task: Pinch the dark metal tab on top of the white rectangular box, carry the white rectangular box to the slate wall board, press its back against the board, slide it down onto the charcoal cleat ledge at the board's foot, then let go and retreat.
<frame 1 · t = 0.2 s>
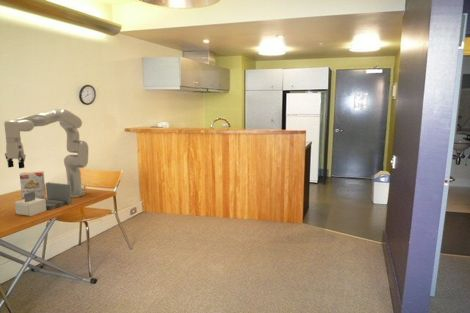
hand: (16, 167, 202), 30 cm above the table, tool pointing down, fingers open, 9 cm apart
white rectangular box: (31, 212, 209), on the table
cracker box: (34, 200, 236), on the table
wall board: (59, 202, 229), on the table
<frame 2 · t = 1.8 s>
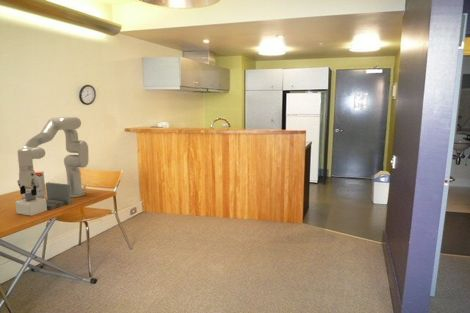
hand: (28, 194, 207), 12 cm above the table, tool pointing down, fingers open, 9 cm apart
nothing on the table moved.
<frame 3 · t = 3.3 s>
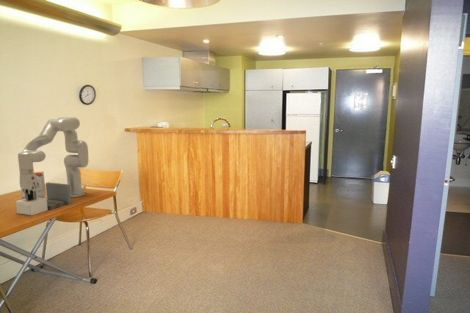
hand: (29, 199, 207), 9 cm above the table, tool pointing down, fingers closed on white rectangular box
white rectangular box: (32, 211, 210), on the table, touching gripper
everything else where it was.
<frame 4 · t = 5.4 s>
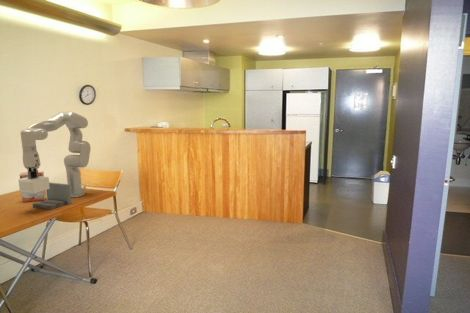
hand: (33, 177, 209), 22 cm above the table, tool pointing down, fingers closed on white rectangular box
white rectangular box: (34, 190, 211), point 14 cm above the table, touching gripper
everything else where it was.
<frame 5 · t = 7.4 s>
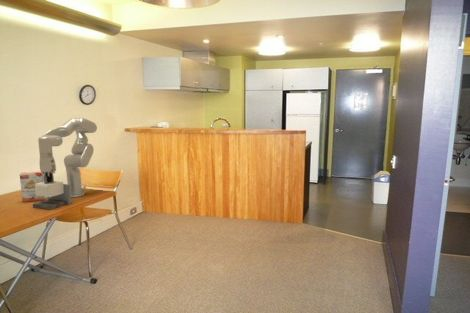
hand: (48, 181, 220), 17 cm above the table, tool pointing down, fingers closed on white rectangular box
white rectangular box: (50, 194, 221), point 8 cm above the table, touching gripper, wall board
everything else where it was.
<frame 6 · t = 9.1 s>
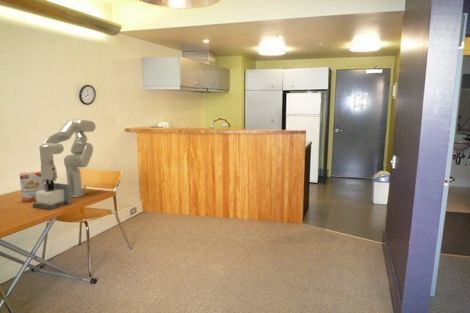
hand: (50, 189, 221), 12 cm above the table, tool pointing down, fingers closed on white rectangular box
white rectangular box: (50, 202, 222), point 3 cm above the table, touching gripper, wall board
everything else where it was.
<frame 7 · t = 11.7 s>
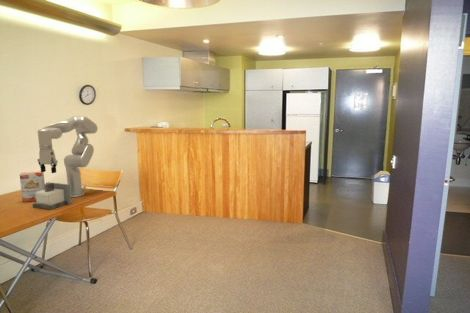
hand: (48, 172, 220), 23 cm above the table, tool pointing down, fingers open, 9 cm apart
white rectangular box: (50, 202, 222), point 2 cm above the table, touching wall board
everything else where it was.
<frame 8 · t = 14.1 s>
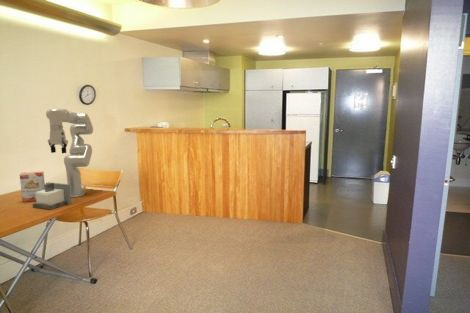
hand: (58, 152, 221), 36 cm above the table, tool pointing down, fingers open, 9 cm apart
nothing on the table moved.
at the end: white rectangular box 0.2 cm from the target spot on the wall board, point 2.5 cm above the wall board's base; white rectangular box tilted 0°; the gripper is holding nothing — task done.
